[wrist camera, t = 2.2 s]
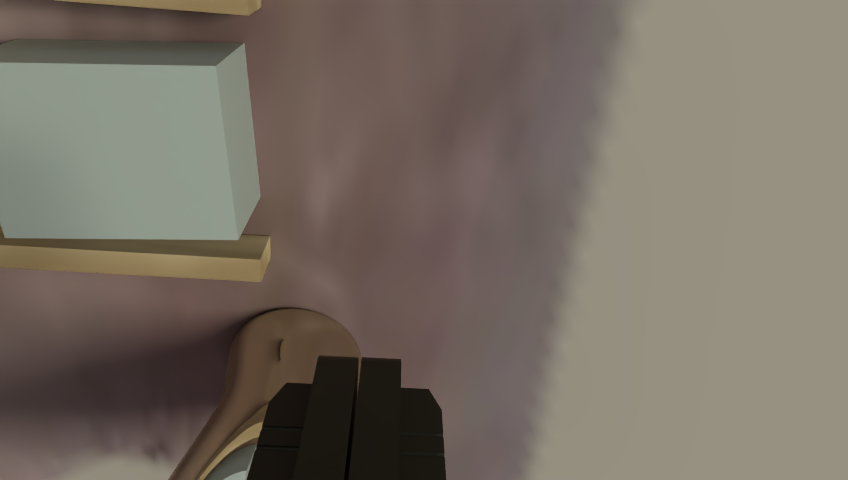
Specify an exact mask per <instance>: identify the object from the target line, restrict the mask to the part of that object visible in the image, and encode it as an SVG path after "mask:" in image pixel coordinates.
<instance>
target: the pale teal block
mask: <svg viewBox="0 0 848 480" xmlns="http://www.w3.org/2000/svg"><path fill="white" fill-rule="evenodd" d="M260 197H261V196H260V187H259V178H258V168H257V159H256V149H255V140H254V131H253V121H252V112H251V102H250V93H249V84H248V74H247V65H246V55H245V46H244V43H219V42H161V41H104V40H46V39H15V40H12V41H9V42H6V43H3V44H0V224H1V227H2V231H3V234H4V237H5V238H54V239H167V240H239V238H240V236H241V234H242V232H243V230H244V228H245V226H246V224H247V222H248V220H249V218H250V216H251V214H252V212H253V210H254V208H255V207H256V205H257V203H258V201H259V199H260Z"/></svg>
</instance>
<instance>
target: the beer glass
mask: <svg viewBox="0 0 848 480" xmlns="http://www.w3.org/2000/svg"><path fill="white" fill-rule="evenodd" d="M319 355H323V356H343V357H359V369H358V386H359V378H360V369H361V360H362V359H361V354H360V351H359V348H358V346H357V344H356V342H355V340H354V339H353V337H352V336H351V335H350V334H349V332H348V331H347V330H346V329H345V328H343V327H342V326H341V325H340V324H338V323H337V322H336V321H334V320H332V319H331V318H329V317H327V316H324V315H322V314H319V313H316V312H313V311H309V310H303V309H279V310H274V311H270V312H267V313H264V314H261V315H259V316H257V317H255V318H254V319H252V320H250V321H249V322H248V323H247V324H245V325H244V326H243V327H242V328H241V330H240V331H239V332H238V333H237V335H236V336H235V338H234V340H233V342H232V344H231V347H230V351H229V355H228V361H227V370H226V380H225V387H224V391H223V394H222V397H221V399H220V401H219V403H218V405H217V407H216V409H215V411H214V412H213V414H212V415H211V417H210V418H209V420H208V421H207V423H206V425H205V426H204V427H203V429H202V430H201V432H200V433H199V435H198V436H197V438H196V439H195V440H194V442H193V443H192V445H191V446H190V448H189V449H188V451H187V452H186V454H185V455H184V457H183V458H182V460H181V461H180V463H179V464H178V466H177V467H176V469H175V470H174V472H173V473H172V475H171V476H170V478H169V479H168V480H247V476H248V473H249V469H250V466H251V462H252V459H253V455H254V452H255V450H256V446H257V441H258V438H259V435H260V431H261V430H262V424H263V421H264V417H265V414H266V410H267V407H268V403H269V401H270V400H271V399H272V398H273V397H274V396H275V395H276V394H277V393H278V391H279V390H280V389H281V388H282V387H283V386H284V385H285V384H286V383H307V384H312V383H313V378H314V373H315V369H316V364H317V359H318V356H319Z"/></svg>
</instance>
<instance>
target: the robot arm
mask: <svg viewBox="0 0 848 480" xmlns="http://www.w3.org/2000/svg"><path fill="white" fill-rule="evenodd" d="M358 369H359V357H343V356H323V355H319V356H318V359H317V364H316V369H315V373H314V378H313V383H312V384H307V383H286V384H285V385H284V386H283V387H282V388H281V389H280V390H279V391H278V393H277V394H276V395H275V396H274V397H273V398H272V399H271V400H270V401H269V403H268V407H267V410H266V414H265V417H264V421H263V424H262V430H261V431H260V435H259V438H258V441H257V446H256V450H255V452H254V455H253V459H252V462H251V466H250V469H249V473H248V476H247V480H446V471H445V458H444V440H443V425H442V410H441V408H440V407H439V405H438V403H437V402H436V400H435V399H434V397H433V395H432V394H431V392H430V391H429V389H415V388H401V359H386V358H366V357H362V360H361V369H360V378H359V388H358ZM357 394H358V397H357Z"/></svg>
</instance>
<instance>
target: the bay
mask: <svg viewBox="0 0 848 480" xmlns="http://www.w3.org/2000/svg"><path fill="white" fill-rule="evenodd" d="M56 1H69V2H81V3H94V4H107V5H120V6H133V7H146V8H159V9H172V10H184V11H197V12H210V13H223V14H236V15H250V14H252V13H253V12H255V11H256V10H258V9H259V8H261V7H262V6H261V0H56ZM270 258H271V246H270V236H260V235H243V234H241V236H240V238H239V240H167V239H54V238H5V237H4V234H3V231H2V227H1V224H0V268H17V269H35V270H53V271H72V272H90V273H108V274H126V275H145V276H163V277H181V278H199V279H218V280H236V281H254V282H261V281H262V278H263V276H264V273H265V271H266V268H267V266H268V263H269V261H270Z"/></svg>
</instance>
